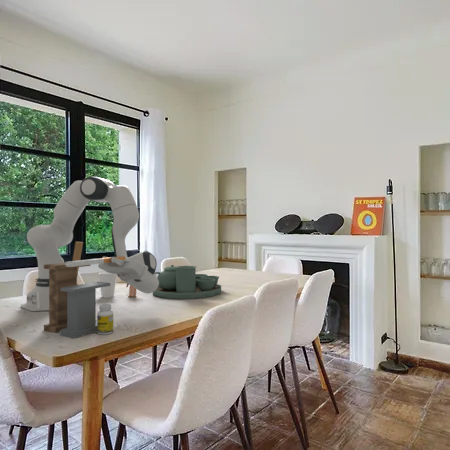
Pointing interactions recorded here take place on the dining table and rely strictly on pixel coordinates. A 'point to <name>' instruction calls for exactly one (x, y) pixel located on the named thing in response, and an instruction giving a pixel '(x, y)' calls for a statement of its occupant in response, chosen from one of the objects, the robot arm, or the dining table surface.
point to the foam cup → (107, 278)
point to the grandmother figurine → (131, 291)
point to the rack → (81, 309)
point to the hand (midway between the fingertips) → (107, 258)
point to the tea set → (186, 283)
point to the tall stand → (59, 294)
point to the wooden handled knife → (91, 261)
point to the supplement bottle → (105, 320)
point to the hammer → (77, 252)
